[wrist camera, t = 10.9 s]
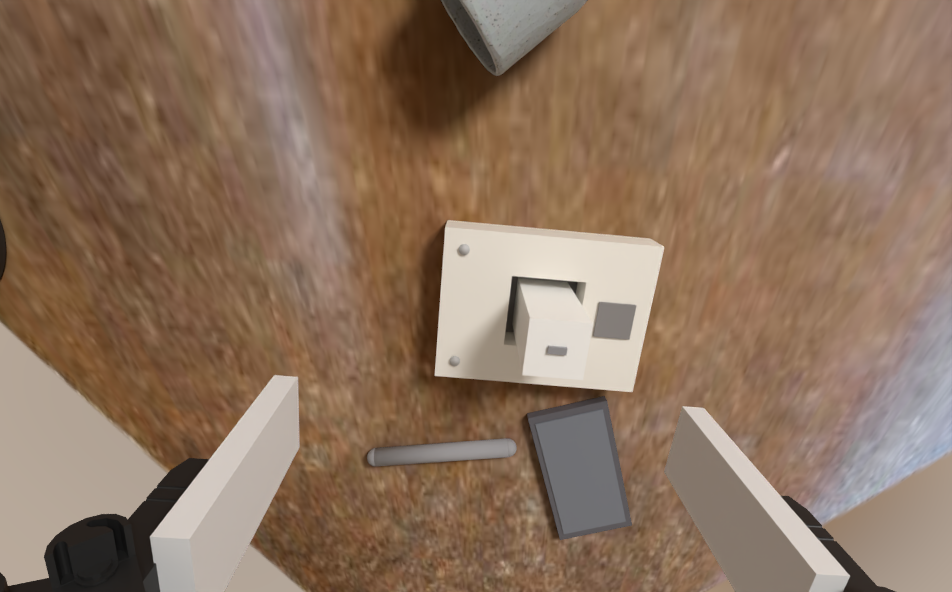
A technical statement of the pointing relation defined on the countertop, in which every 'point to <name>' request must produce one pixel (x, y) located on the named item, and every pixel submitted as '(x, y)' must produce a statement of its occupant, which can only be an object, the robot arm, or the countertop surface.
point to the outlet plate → (545, 258)
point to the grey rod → (441, 452)
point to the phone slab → (580, 467)
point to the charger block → (550, 329)
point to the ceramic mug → (507, 26)
